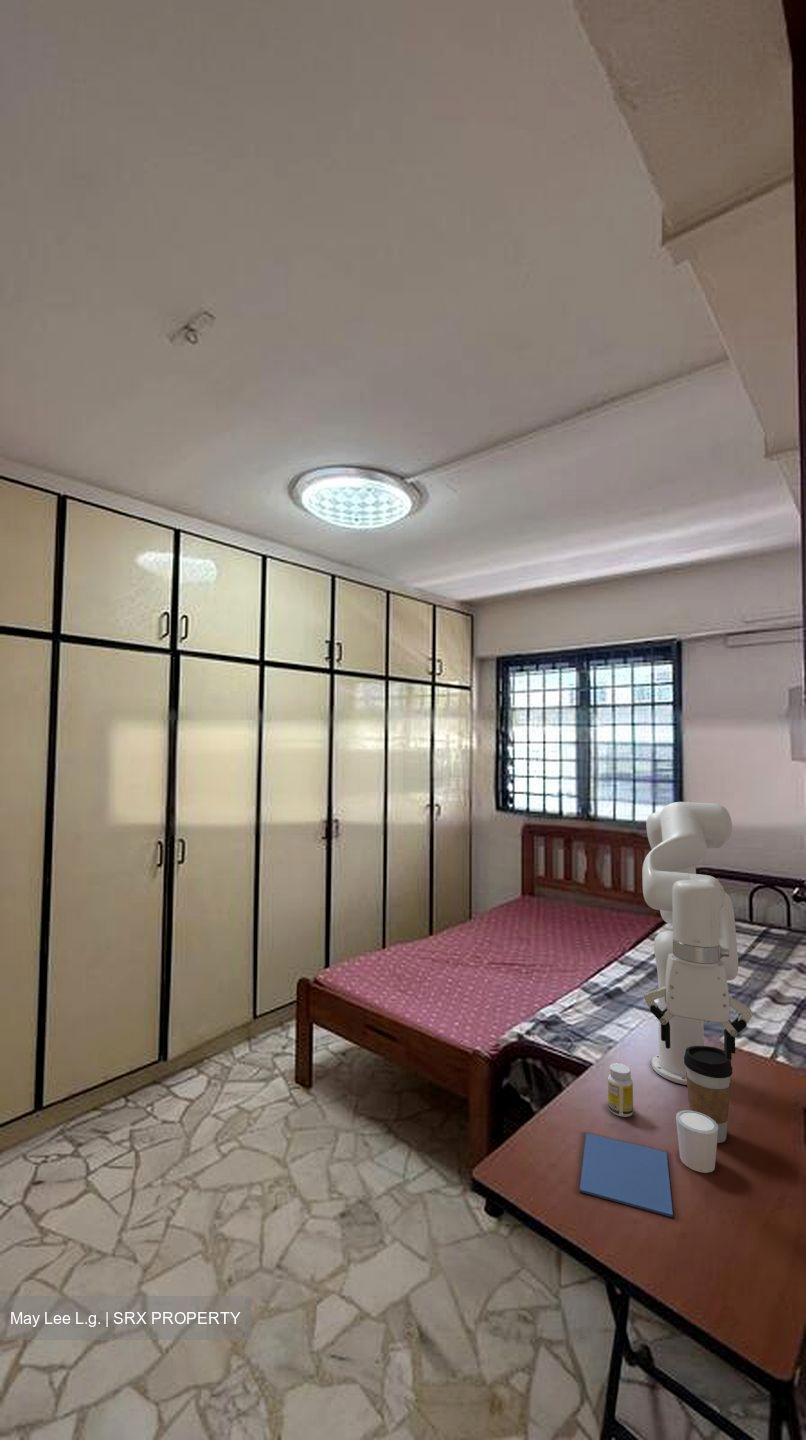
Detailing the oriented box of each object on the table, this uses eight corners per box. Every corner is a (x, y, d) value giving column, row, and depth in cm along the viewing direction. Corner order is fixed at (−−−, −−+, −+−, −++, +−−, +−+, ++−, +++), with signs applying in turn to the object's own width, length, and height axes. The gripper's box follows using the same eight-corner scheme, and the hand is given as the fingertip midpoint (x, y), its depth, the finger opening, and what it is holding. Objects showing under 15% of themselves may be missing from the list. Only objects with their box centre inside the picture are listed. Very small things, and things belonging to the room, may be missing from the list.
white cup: (668, 1149, 107) (668, 1109, 108) (704, 1148, 108) (703, 1108, 108) (689, 1176, 100) (689, 1133, 101) (727, 1174, 101) (727, 1132, 101)
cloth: (586, 1134, 111) (586, 1132, 111) (666, 1154, 106) (666, 1152, 106) (579, 1191, 96) (579, 1189, 96) (673, 1217, 91) (672, 1215, 91)
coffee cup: (740, 1150, 107) (739, 1066, 108) (691, 1143, 109) (690, 1060, 110) (725, 1123, 116) (723, 1045, 117) (679, 1117, 117) (678, 1040, 118)
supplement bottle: (632, 1106, 120) (632, 1064, 121) (633, 1119, 116) (633, 1076, 117) (608, 1102, 122) (607, 1060, 123) (608, 1114, 118) (607, 1071, 118)
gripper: (747, 952, 105) (749, 1051, 104) (643, 939, 111) (644, 1032, 110) (755, 965, 98) (757, 1071, 97) (644, 951, 104) (645, 1050, 103)
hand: (697, 1050), depth 103 cm, fingers open, 9 cm apart
